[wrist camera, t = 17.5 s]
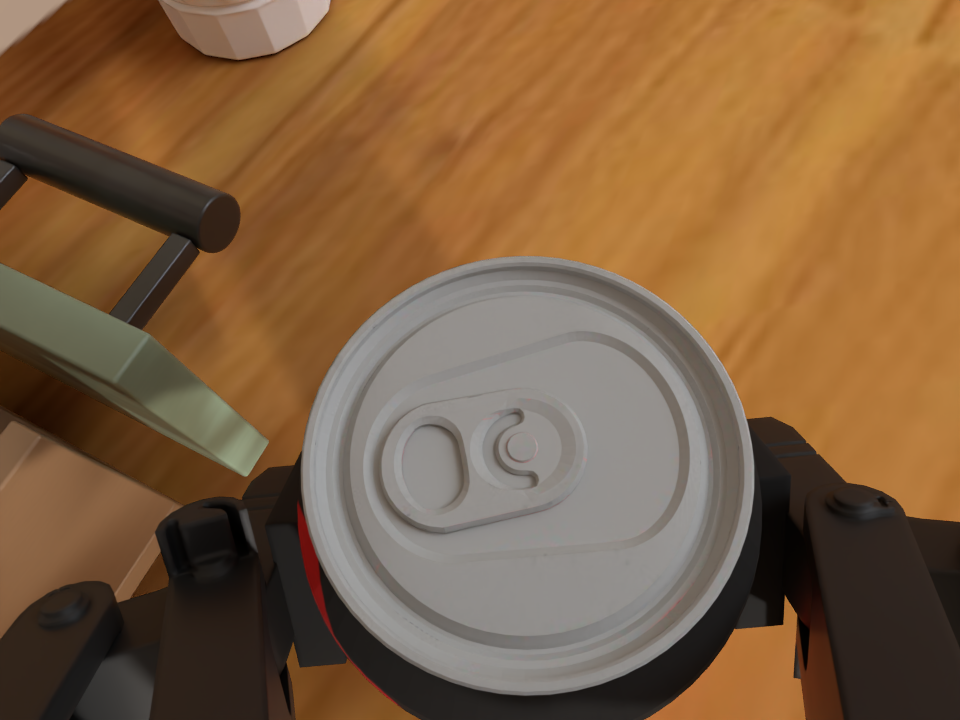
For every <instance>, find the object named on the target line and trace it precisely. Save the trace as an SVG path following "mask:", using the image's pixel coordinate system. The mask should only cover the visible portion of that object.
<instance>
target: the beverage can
mask: <svg viewBox="0 0 960 720" xmlns="http://www.w3.org/2000/svg"><path fill="white" fill-rule="evenodd" d="M297 508H298V531H299V540H300V548H301V553H302V558H303V562H304V567H305V571H306V576H307V579H308V582H309V585H310V588H311V591H312V594H313V597H314V600H315V602H316V604H317V607H318V609H319V611H320V613H321V615H322V618H323V620H324V622H325V624H326V625H327V627H328V629H329V630H330V632H331V634H332V636H333V637H334V639H335V641H336V642H337V644H338V645H339V646H340V648H341V649H342V651H343V652H344V653H345V655H346V656H347V657H348V659H349V660H350V661H351V663H352V664H353V665H354V666H355V667H356V668H357V669H358V670H359V671H360V673H361V674H362V675H363V676H364V677H365V678H366V679H367V680H368V681H369V682H370V683H371V684H372V685H373V686H375V687H376V688H377V689H378V690H379V691H380V692H381V693H382V694H383V695H385V696H386V697H387V698H389V699H390V700H391V701H393V702H394V703H395V704H397V705H398V706H400V707H401V708H402V709H404V710H405V711H407V712H409V713H410V714H412V715H414V716H416V717H417V718H419V719H421V720H644V719H646V718H648V717H650V716H652V715H653V714H654V713H656V712H657V711H659V710H660V709H662V708H663V707H665V706H666V705H668V704H669V703H671V702H672V701H673V700H675V699H676V698H677V697H678V696H679V695H680V694H682V693H683V692H684V691H685V690H686V689H687V688H689V687H690V686H691V685H692V684H693V683H694V682H695V681H696V680H697V679H698V678H699V677H700V675H701V674H702V673H703V672H704V671H705V670H706V669H707V668H708V667H709V666H710V664H711V663H712V662H713V660H714V659H715V658H716V656H717V655H718V654H719V652H720V651H721V650H722V648H723V647H724V645H725V644H726V642H727V640H728V639H729V637H730V635H731V634H732V632H733V630H734V628H735V627H736V625H737V623H738V621H739V618H740V616H741V614H742V612H743V609H744V607H745V605H746V603H747V600H748V597H749V594H750V590H751V587H752V584H753V581H754V577H755V573H756V568H757V563H758V558H759V551H760V541H761V531H762V499H761V490H760V480H759V476H758V471H757V466H756V461H755V457H754V454H753V449H752V442H751V437H750V432H749V427H748V423H747V420H746V416H745V413H744V410H743V407H742V404H741V401H740V399H739V396H738V394H737V392H736V389H735V387H734V385H733V383H732V381H731V379H730V377H729V375H728V373H727V372H726V370H725V368H724V366H723V364H722V363H721V361H720V360H719V358H718V357H717V356H716V354H715V353H714V351H713V350H712V348H711V347H710V346H709V344H708V343H707V342H706V341H705V340H704V338H703V337H702V336H701V335H700V333H699V332H698V331H697V330H696V329H695V328H694V327H693V326H692V325H691V324H690V323H689V322H688V321H687V320H686V319H685V318H684V317H683V316H682V315H681V314H679V313H678V312H677V311H676V310H675V309H673V308H672V307H671V306H670V305H669V304H667V303H666V302H664V301H663V300H662V299H660V298H659V297H657V296H656V295H654V294H653V293H652V292H650V291H648V290H646V289H645V288H643V287H641V286H640V285H638V284H636V283H634V282H632V281H630V280H628V279H626V278H624V277H622V276H619V275H617V274H615V273H612V272H609V271H607V270H604V269H601V268H598V267H595V266H591V265H588V264H584V263H580V262H576V261H571V260H565V259H560V258H550V257H540V256H515V257H500V258H494V259H487V260H481V261H477V262H473V263H468V264H464V265H461V266H458V267H455V268H452V269H449V270H446V271H443V272H441V273H438V274H436V275H434V276H431V277H429V278H427V279H425V280H423V281H421V282H419V283H417V284H415V285H413V286H411V287H410V288H408V289H406V290H405V291H403V292H402V293H400V294H399V295H397V296H396V297H394V298H392V299H391V300H390V301H389V302H387V303H386V304H385V305H383V306H382V307H381V308H380V309H378V310H377V311H376V312H375V313H374V314H373V315H372V316H371V317H370V318H368V319H367V320H366V321H365V322H364V323H363V324H362V325H361V326H360V327H359V329H358V330H357V331H356V332H355V333H354V334H353V335H352V336H351V337H350V339H349V340H348V341H347V343H346V344H345V345H344V347H343V348H342V349H341V351H340V352H339V353H338V355H337V356H336V358H335V360H334V361H333V363H332V364H331V366H330V368H329V369H328V371H327V373H326V375H325V377H324V379H323V381H322V383H321V385H320V387H319V389H318V392H317V394H316V397H315V400H314V402H313V405H312V408H311V411H310V414H309V418H308V422H307V425H306V430H305V435H304V441H303V447H302V458H301V474H300V480H299V490H298V504H297Z"/></svg>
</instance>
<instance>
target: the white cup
mask: <svg viewBox="0 0 960 720" xmlns="http://www.w3.org/2000/svg"><path fill="white" fill-rule="evenodd" d="M158 1H159V3H160V5H161V6H162V8H163V9H164V11H165V13H166V14H167V16H168V18H169V19H170V21H171V23H172V24H173V26H174V28H175V29H176V31H177V33H178V34H179V36H180V37H181V38H182V39H183V40H185V41H186V42H188V43H189V44H190V45H192V46H193V47H195V48H196V49H198V50H199V51H200V52H202V53H203V54H205V55H209V56H216V57H222V58H228V59H235V60H242V59H248V58H253V57H258V56H264V55H269V54H274V53H277V52H279V51H281V50H283V49H284V48H286V47H288V46H290V45H292V44H294V43H295V42H297V41H299V40H301V39H303V38H304V37H306V36H308V35H309V34H310V32H311V31H312V30H313V29H314V28H315V27H316V25H317V24H318V23H319V22H320V21H321V20H322V18H323V17H324V16H325V15H326V14H327V12H328V11H329V6H330V1H331V0H158Z"/></svg>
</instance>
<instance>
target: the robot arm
mask: <svg viewBox="0 0 960 720" xmlns="http://www.w3.org/2000/svg"><path fill="white" fill-rule="evenodd" d="M746 420H747V423H748V427H749V432H750V437H751V442H752V449H753V454H754V457H755V461H756V466H757V471H758V476H759V480H760V490H761V499H762V531H761V541H760V551H759V558H758V563H757V568H756V573H755V577H754V581H753V584H752V587H751V590H750V594H749V597H748V600H747V603H746V605H745V607H744V609H743V612H742V614H741V616H740V618H739V621H738V623H737V625H736V627H735V629H742V628H753V627H764V626H776V625H783V618H784V599H785V596H786V597H787V599H788V600H789V602H790V604H791V605H792V607H793V608H794V610H795V612H796V613H797V631H796V646H795V662H794V678H798V679H801V684H802V692H803V700H804V709H805V717H806V720H960V522H953V521H942V520H931V519H921V518H914V517H907V516H906V515H905V512H904V510H903V508H902V507H901V506H900V505H899V503H898V502H897V501H896V500H895V499H894V498H892V497H890V496H889V495H887V494H885V493H884V492H882V491H879V490H876V489H873V488H870V487H867V486H864V485H857V484H851V483H846V482H845V481H844V480H843V479H842V477H841V476H840V475H839V474H838V473H837V472H836V471H835V470H834V469H833V468H832V467H831V466H830V465H829V464H828V463H827V462H826V461H825V460H824V459H823V458H822V457H821V456H820V455H819V454H816V451H815V450H814V449H813V448H812V447H811V446H810V445H809V443H806V440H805V439H804V438H803V437H802V436H801V435H800V434H799V433H798V432H797V431H796V430H795V429H794V428H793V427H791V426H789V425H787V424H785V423H783V422H781V421H779V420H777V419H774V418H772V417H764V418H754V419H746ZM301 458H302V451H301V453H300V455H299V457H298V459H297V461H296V463H295V465H292V466H282V467H272V468H268V469H267V470H266V471H264V472H263V473H262V474H260V475H259V476H258V477H257V478H255V479H254V480H253V481H252V482H251V483H250V485H249V486H248V488H247V490H246V491H245V493H244V495H243V496H242V500H238V499H236V498H234V497H214V498H208V499H202V500H199V501H196V502H193V503H190V504H187V505H185V506H183V507H181V508H179V509H178V510H176V511H174V512H172V513H170V514H169V515H168V516H167V517H166V518H165V519H163V520H162V521H161V522H160V523H159V525H158V527H157V529H156V531H155V535H156V538H157V541H158V544H159V547H160V550H161V554H162V557H163V560H164V563H165V566H166V569H167V573H168V576H169V583H168V587H166V588H163V589H160V590H158V591H155V592H152V593H148V594H145V595H142V596H138V597H135V598H131V599H128V600H124V601H121V602H117V600H116V597H115V594H114V592H113V590H112V588H111V586H110V585H109V584H107V583H104V582H102V581H83V582H79V583H75V584H68V585H65V586H62V587H59V589H55V590H53V591H51V592H49V593H47V594H46V595H45V596H43V597H41V598H40V599H38V600H37V601H35V602H34V603H32V604H31V605H29V606H28V607H27V608H26V609H25V610H24V611H23V612H22V613H21V614H20V615H19V616H18V617H17V619H16V620H15V621H14V622H13V624H12V625H11V626H10V628H9V629H8V630H7V631H6V633H5V634H4V635H3V636H2V638H1V639H0V720H296V718H295V708H294V699H293V690H292V682H291V678H290V675H289V671H288V667H287V663H286V661H287V658H288V655H289V652H290V649H291V646H292V643H293V642H294V646H295V650H296V654H297V658H298V662H299V666H300V667H310V666H321V665H333V664H344V663H346V660H347V656H346V655H345V653H344V652H343V651H342V649H341V648H340V646H339V645H338V644H337V642H336V641H335V639H334V637H333V636H332V634H331V632H330V630H329V629H328V627H327V625H326V624H325V622H324V620H323V618H322V615H321V613H320V611H319V609H318V607H317V604H316V602H315V600H314V597H313V594H312V591H311V588H310V585H309V582H308V579H307V576H306V571H305V567H304V562H303V558H302V553H301V548H300V540H299V531H298V508H297V504H298V490H299V480H300V474H301Z"/></svg>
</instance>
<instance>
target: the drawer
mask: <svg viewBox="0 0 960 720" xmlns="http://www.w3.org/2000/svg"><path fill="white" fill-rule="evenodd" d="M24 174H25V175H27V176H29V177H32V178H34V179H36V180H39V181H41V182H43V183H46V184H48V185H50V186H53V187H55V188H57V189H60V190H62V191H64V192H67V193H69V194H71V195H74V196H76V197H78V198H81V199H83V200H85V201H88V202H90V203H92V204H95V205H97V206H99V207H102V208H104V209H107V210H109V211H111V212H114V213H116V214H118V215H121V216H123V217H125V218H128V219H130V220H132V221H135V222H137V223H139V224H142V225H144V226H146V227H149V228H151V229H153V230H156V231H158V232H160V233H163V234H165V235H167V236H169V238H168V239H167V240H166V242H165V243H164V244H163V245H162V247H161V248H160V249H159V251H158V252H157V253H156V254H155V256H154V257H153V258H152V260H151V261H150V262H149V263H148V265H147V266H146V267H145V269H144V270H143V271H142V272H141V274H140V275H139V276H138V278H137V279H136V280H135V281H134V283H133V284H132V285H131V287H130V288H129V289H128V290H127V292H126V293H125V294H124V296H123V297H122V298H121V299H120V301H119V302H118V303H117V304H116V306H115V307H114V308H113V310H112V311H111V312H110V313H109V314H107V313H105V312H103V311H100V310H98V309H96V308H94V307H92V306H90V305H88V304H86V303H84V302H81V301H79V300H77V299H75V298H73V297H71V296H69V295H67V294H65V293H63V292H60V291H58V290H56V289H54V288H52V287H50V286H48V285H46V284H44V283H42V282H39V281H37V280H35V279H33V278H31V277H29V276H27V275H25V274H23V273H21V272H18V271H16V270H14V269H12V268H10V267H8V266H6V265H4V264H2V263H0V350H1V351H3V352H5V353H6V354H8V355H10V356H12V357H14V358H16V359H18V360H20V361H22V362H24V363H26V364H28V365H30V366H32V367H34V368H35V369H37V370H39V371H41V372H43V373H45V374H47V375H49V376H51V377H53V378H55V379H57V380H59V381H61V382H62V383H64V384H66V385H68V386H70V387H72V388H74V389H76V390H78V391H80V392H82V393H84V394H86V395H88V396H90V397H91V398H93V399H95V400H97V401H99V402H101V403H103V404H105V405H107V406H109V407H111V408H113V409H115V410H117V411H118V412H120V413H122V414H124V415H126V416H128V417H130V418H132V419H134V420H136V421H138V422H140V423H142V424H144V425H145V426H147V427H149V428H151V429H153V430H155V431H157V432H159V433H161V434H163V435H165V436H167V437H169V438H171V439H173V440H174V441H176V442H178V443H180V444H182V445H184V446H186V447H188V448H190V449H192V450H194V451H196V452H198V453H200V454H201V455H203V456H205V457H207V458H209V459H211V460H213V461H215V462H217V463H219V464H221V465H223V466H225V467H227V468H229V469H230V470H232V471H234V472H236V473H238V474H240V475H242V476H248V475H249V473H250V472H251V470H252V468H253V467H254V465H255V464H256V462H257V461H258V459H259V457H260V456H261V454H262V453H263V451H264V449H265V448H266V446H267V445H268V442H269V441H268V440H267V438H265V437H264V436H263V435H262V434H261V433H260V432H259V431H258V430H256V429H255V428H254V427H253V426H252V425H251V424H250V423H249V422H247V421H246V420H245V419H244V418H243V417H242V416H241V415H240V414H239V413H237V412H236V411H235V410H234V409H233V408H232V407H231V406H230V405H228V404H227V403H226V402H225V401H224V400H223V399H222V398H221V397H219V396H218V395H217V394H216V393H215V392H214V391H213V390H212V389H211V388H209V387H208V386H207V385H206V384H205V383H204V382H203V381H202V380H200V379H199V378H198V377H197V376H196V375H195V374H194V373H193V372H191V371H190V370H189V369H188V368H187V367H186V366H185V365H184V364H183V363H181V362H180V361H179V360H178V359H177V358H176V357H175V356H174V355H172V354H171V353H170V352H169V351H168V350H167V349H166V348H165V347H164V346H162V345H161V344H160V343H159V342H158V341H157V340H156V339H155V338H153V337H152V336H151V335H150V334H149V333H147V332H145V331H142V329H143V328H144V327H145V325H146V324H147V323H148V321H149V320H150V319H151V317H152V316H153V315H154V313H155V312H156V311H157V309H158V308H159V307H160V305H161V304H162V303H163V301H164V300H165V299H166V297H167V296H168V295H169V293H170V292H171V291H172V289H173V288H174V287H175V285H176V284H177V283H178V281H179V280H180V279H181V277H182V276H183V275H184V273H185V272H186V271H187V269H188V268H189V267H190V265H191V264H192V263H193V261H194V260H195V259H196V257H197V256H198V255H199V253H200V252H199V250H198V249H200V250H202V251H205V252H207V253H217V252H220V251H222V250H223V249H225V248H226V247H227V246H228V245H229V244H230V243H231V242H232V240H233V239H234V237H235V235H236V233H237V231H238V228H239V224H240V208H239V205H238V203H237V201H236V200H235V198H234V197H233V196H231V195H230V194H227V193H225V192H222V191H220V190H217V189H215V188H212V187H210V186H207V185H205V184H202V183H200V182H197V181H195V180H192V179H190V178H187V177H185V176H182V175H180V174H177V173H175V172H172V171H170V170H167V169H165V168H162V167H160V166H157V165H155V164H152V163H150V162H147V161H145V160H142V159H139V158H137V157H134V156H132V155H129V154H127V153H124V152H122V151H119V150H117V149H114V148H112V147H109V146H107V145H104V144H102V143H99V142H97V141H94V140H92V139H89V138H87V137H84V136H82V135H79V134H77V133H74V132H72V131H69V130H67V129H64V128H62V127H59V126H57V125H54V124H52V123H49V122H47V121H44V120H42V119H39V118H37V117H34V116H32V115H28V114H17V115H13V116H11V117H9V118H7V119H6V120H5V121H3V122H2V124H1V125H0V210H1V209H2V207H3V206H4V205H5V204H6V203H7V202H8V201H9V200H10V199H11V197H12V196H13V195H14V194H15V193H16V192H17V191H18V190H19V189H20V187H21V186H22V185H23V184H24V183H25V182H26V181H27V179H28V178H27V177H26V176H25V175H24ZM197 248H198V249H197ZM183 506H184V505H183V504H181V503H179V502H177V501H175V500H173V499H172V498H170V497H168V496H166V495H164V494H162V493H161V492H159V491H157V490H155V489H153V488H151V487H150V486H148V485H146V484H144V483H142V482H140V481H138V480H137V479H135V478H133V477H131V476H129V475H127V474H126V473H124V472H122V471H120V470H118V469H116V468H115V467H113V466H111V465H109V464H107V463H105V462H104V461H102V460H100V459H98V458H96V457H94V456H93V455H91V454H89V453H87V452H85V451H83V450H82V449H80V448H78V447H76V446H74V445H72V444H71V443H69V442H67V441H65V440H63V439H61V438H60V437H58V436H56V435H54V434H52V433H50V432H48V431H47V430H45V429H43V428H41V427H39V426H37V425H36V424H34V423H32V422H30V421H28V420H26V419H25V418H23V417H21V416H19V415H17V414H15V413H14V412H12V411H10V410H8V409H6V408H4V407H3V406H1V405H0V639H1V638H2V636H3V635H4V634H5V633H6V631H7V630H8V629H9V628H10V626H11V625H12V624H13V622H14V621H15V620H16V619H17V617H18V616H19V615H20V614H21V613H22V612H23V611H24V610H25V609H26V608H27V607H28V606H29V605H31V604H32V603H34V602H35V601H37V600H38V599H40V598H41V597H43V596H45V595H46V594H47V593H49V592H51V591H53V590H55V589H59V587H62V586H65V585H68V584H75V583H79V582H83V581H102V582H104V583H107V584H109V585H110V586H111V588H112V590H113V592H114V594H115V597H116V600H117V602H121V601H124V600H128V599H130V597H131V596H132V594H133V593H134V591H135V590H136V588H137V587H138V585H139V584H140V582H141V581H142V579H143V578H144V576H145V574H146V573H147V571H148V570H149V568H150V567H151V565H152V564H153V562H154V561H155V559H156V558H157V556H158V555H159V553H160V551H161V550H160V547H159V544H158V541H157V538H156V535H155V531H156V529H157V527H158V525H159V523H160V522H161V521H162V520H163V519H165V518H166V517H167V516H168V515H169V514H170V513H172V512H174V511H176V510H178V509H179V508H181V507H183Z"/></svg>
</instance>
